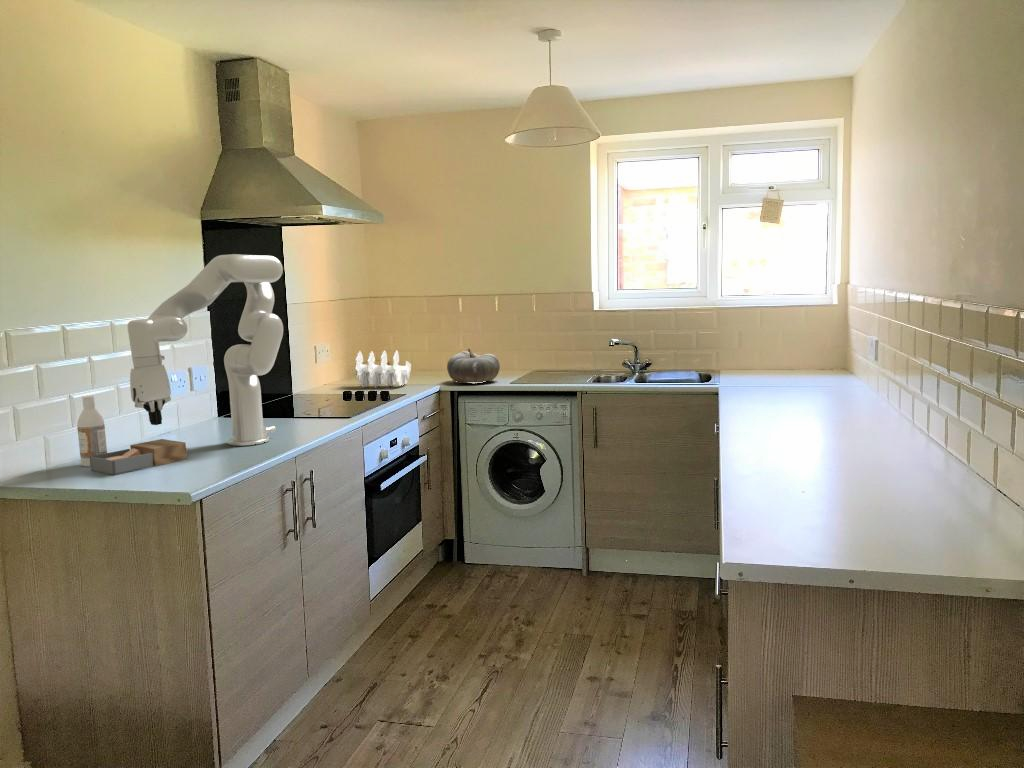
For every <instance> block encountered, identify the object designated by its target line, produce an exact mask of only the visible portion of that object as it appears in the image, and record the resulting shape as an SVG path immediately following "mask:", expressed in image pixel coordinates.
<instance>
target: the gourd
mask: <svg viewBox="0 0 1024 768" xmlns="http://www.w3.org/2000/svg"><path fill="white" fill-rule="evenodd" d="M446 365H447V366H446V367H447V368H446V369H447V374H448V376H449V377H450V378H451V380H452V381H454V382H455V381H457V382H483V381H489V382H491V381H493V380H494V379H495V378H497V377H498V374H499V372H500V370H501V369H500V367H501V365H500V361H499V359H498V356H497V355H495V354H492V353H485V354H483V355H480V354H477V353H474V352H473V351H471V349H470V348H467V351H466V350H463V351H461V352H459V353H457V354H453V355H452V356H451V357H450V358H449V359H448V361H447V364H446ZM490 380H491V381H490ZM457 382H456V383H457Z"/></svg>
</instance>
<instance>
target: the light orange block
mask: <svg viewBox="0 0 1024 768" xmlns="http://www.w3.org/2000/svg"><path fill="white" fill-rule="evenodd" d="M123 458H126V457H122V456H115V457H110V458H105V459H108V460H118V459H123Z"/></svg>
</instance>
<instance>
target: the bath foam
mask: <svg viewBox="0 0 1024 768" xmlns="http://www.w3.org/2000/svg"><path fill="white" fill-rule="evenodd" d="M82 407H83V410H82V411H81V413H80V415H79V417H78V419H77V425H76V426H77V428H76V429H77V436H78V437H77V438H78V446H79V447H78V449H79V455H80V457H79V458H80V462H81V463H80V464H81V466H82V467H85V468H86V467H90V468H91V465H90V456H95V455H100V454H105V453H108V447H107V437H106V436H107V435H106V424H105V421H104V419H103V416H102V415H101V413H100V412H99V411H98V410H97V409H96V406H95V397H94V395H84V396H82Z"/></svg>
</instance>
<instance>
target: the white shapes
mask: <svg viewBox="0 0 1024 768" xmlns="http://www.w3.org/2000/svg"><path fill="white" fill-rule="evenodd" d="M363 356H364V355H363V353H362V351H361V350H359V352H356V358H355V360H354V361H355V368H354V369H355V371H356V380H358V383H359V384H361V386H362V388H367V387H368V386H369V385H370V384H371V385H373V386H374V389H377V387H378V386H380V387H381V386H382V384H383V383H384V382H385V385H386V387H387V386H388V387H390V385H391V386H393V385H394V384H396V383H397V384H398V387H399V386H401V385H404V384H406V385H407V384H408V381H409V379H410V376H411V375H410V374H411V372H412V371H411V370H412V363H411V362H409V361H408V360H405V365H399V363H400V354H399V351H398V350H397V349H395V352H394V351H393V356H392V357H393V358H392V365H388V354H387V351H386V350H383V351H381V356H380V364H375V362H376V358H375V353H374V351H373V350H371V351H370V353H368V359H367V364H363V362H364V357H363ZM404 386H405V385H404ZM401 387H402V386H401Z"/></svg>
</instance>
